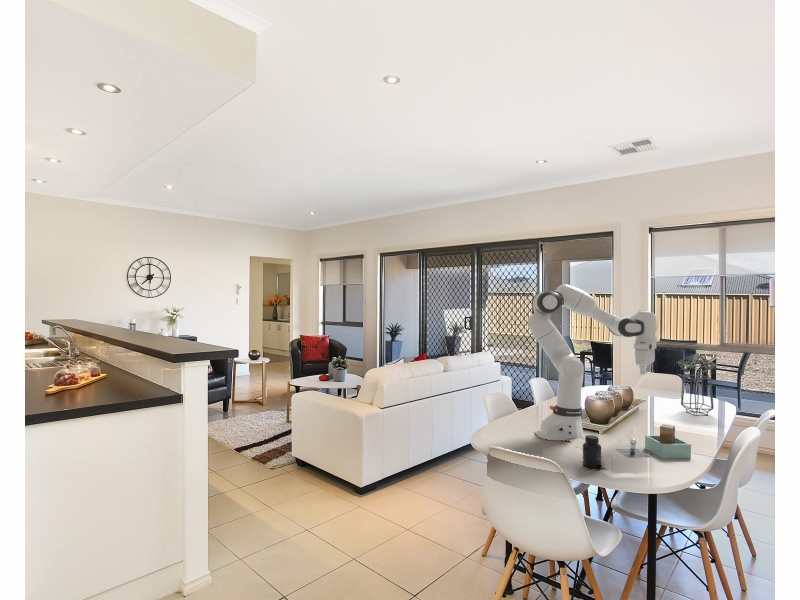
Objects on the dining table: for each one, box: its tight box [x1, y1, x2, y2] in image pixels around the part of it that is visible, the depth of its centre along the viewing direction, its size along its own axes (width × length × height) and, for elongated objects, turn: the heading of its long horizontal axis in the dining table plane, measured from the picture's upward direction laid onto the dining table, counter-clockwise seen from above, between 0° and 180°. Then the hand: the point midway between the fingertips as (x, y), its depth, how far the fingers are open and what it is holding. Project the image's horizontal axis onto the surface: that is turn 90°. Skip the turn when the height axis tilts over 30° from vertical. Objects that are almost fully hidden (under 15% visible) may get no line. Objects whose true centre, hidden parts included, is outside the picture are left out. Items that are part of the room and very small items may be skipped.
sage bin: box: [644, 434, 692, 460], centre depth 188 cm, size 12×12×7 cm
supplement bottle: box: [582, 434, 603, 470], centre depth 175 cm, size 7×7×12 cm
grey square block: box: [615, 438, 651, 459], centre depth 187 cm, size 10×10×8 cm
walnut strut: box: [659, 423, 676, 444], centre depth 188 cm, size 5×5×12 cm
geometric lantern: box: [676, 353, 718, 417], centre depth 258 cm, size 16×16×35 cm
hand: (645, 373), depth 212 cm, fingers open, 8 cm apart
